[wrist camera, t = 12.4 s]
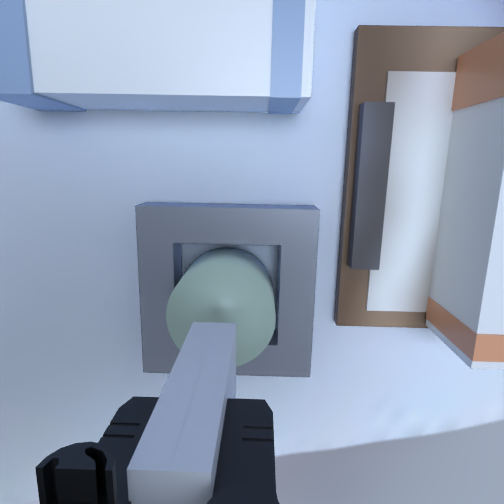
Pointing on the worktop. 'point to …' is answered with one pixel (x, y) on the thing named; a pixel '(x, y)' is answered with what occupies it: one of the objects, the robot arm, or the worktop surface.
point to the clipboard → (396, 169)
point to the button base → (230, 232)
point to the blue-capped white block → (157, 54)
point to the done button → (225, 300)
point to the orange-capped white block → (473, 215)
